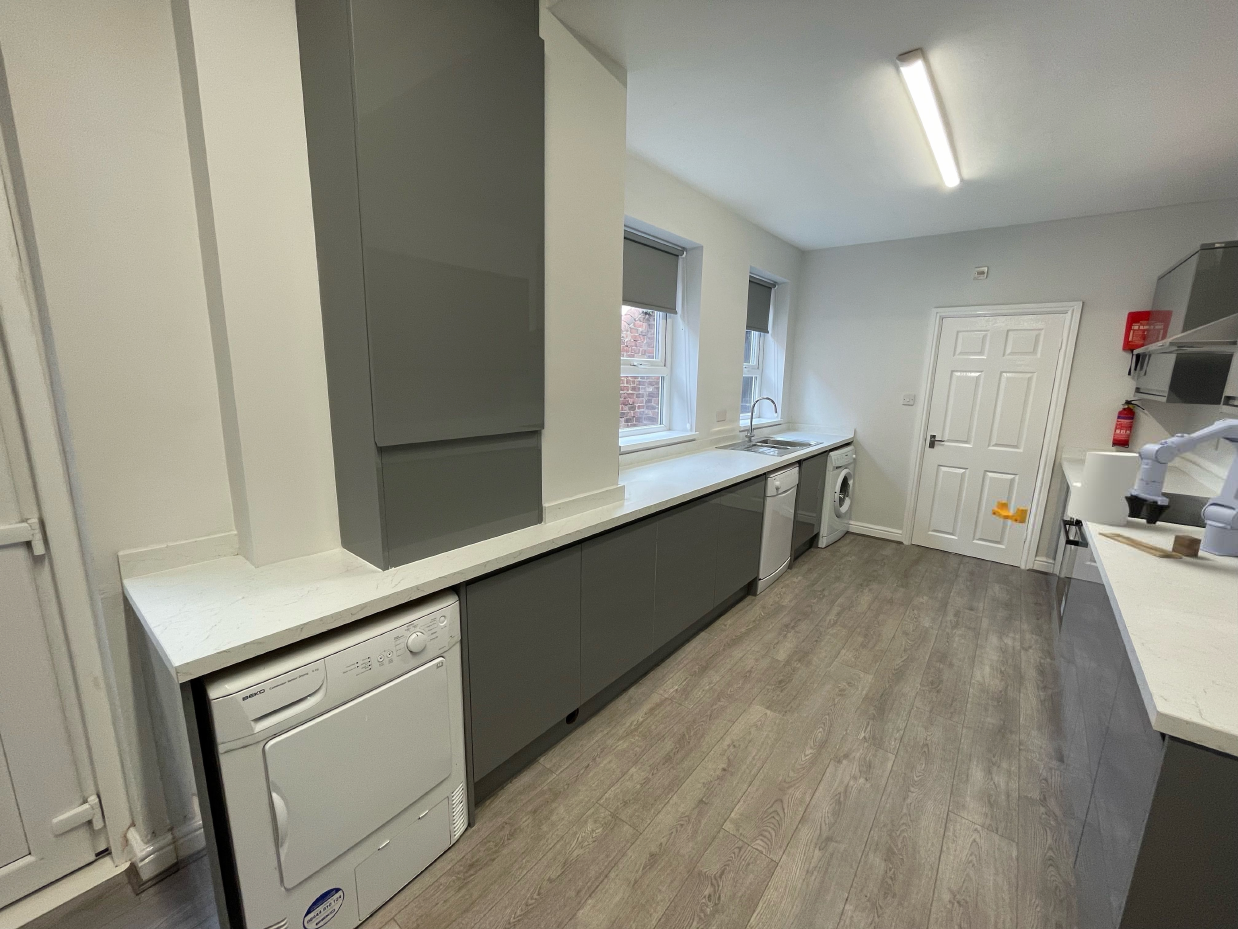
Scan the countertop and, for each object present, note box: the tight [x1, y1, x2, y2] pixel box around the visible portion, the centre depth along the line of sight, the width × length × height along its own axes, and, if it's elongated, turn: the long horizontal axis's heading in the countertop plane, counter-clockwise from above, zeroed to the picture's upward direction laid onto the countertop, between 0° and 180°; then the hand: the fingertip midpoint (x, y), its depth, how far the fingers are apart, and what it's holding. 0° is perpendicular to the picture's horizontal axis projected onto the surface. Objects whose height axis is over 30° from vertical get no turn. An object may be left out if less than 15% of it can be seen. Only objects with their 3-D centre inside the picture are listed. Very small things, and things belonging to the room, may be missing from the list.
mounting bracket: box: [991, 500, 1029, 524], centre depth 195 cm, size 12×4×6 cm, turn 179°
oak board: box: [1098, 532, 1184, 559], centre depth 167 cm, size 7×22×1 cm, turn 175°
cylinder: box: [1066, 451, 1140, 526], centre depth 195 cm, size 17×17×28 cm
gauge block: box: [1171, 534, 1203, 558], centre depth 159 cm, size 4×4×6 cm
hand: (1142, 520), depth 162 cm, fingers open, 7 cm apart
